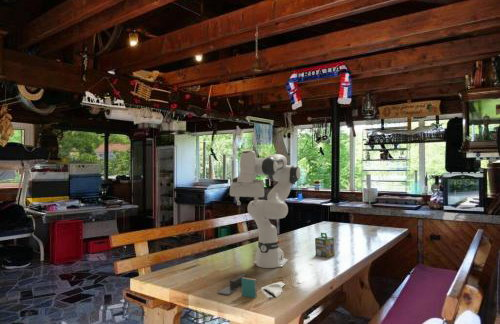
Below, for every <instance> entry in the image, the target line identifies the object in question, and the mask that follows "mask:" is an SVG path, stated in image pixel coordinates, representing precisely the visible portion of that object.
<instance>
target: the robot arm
mask: <svg viewBox="0 0 500 324" xmlns="http://www.w3.org/2000/svg"><path fill="white" fill-rule="evenodd" d="M287 164H288V159H287V157H286V156H285V155H283V154H279V153H273V154H270V155H268V156H266V157H258V158H257V155H256V152H255V150H245V151H242V152H241V154H240V159H239V169H240V171H239V176H236V177H233V178H231V180H230V182H231V183H230V186H229V196H230V197H235V200H236V205H237V206H241V205H242V202H241V201H240V197H243V198H247V197H248V198H253V200H251V201H250V202H249V203H248V205H247V213H248V215H249V216H250V217H251V218H252V219H253V220H254V222H255V224H256V227H257V231H258V241H257V247H258V249H257V250H256V255H255V256H256V257H255V261H254V264H255V265H256V266H257V267H259V268H263V269H274V268H284V266H285V265H286V264H287V262H288V261H289V259H288V258H285V253H284V250H282V249H281V248H280V246H279V245H280V244H281V240H279V239H278V230H277V226H275V225H274V224H272V223H271V221H270V219H272V220H279V219H284V218H286V216H287V215H288V213H289V207H288V204H287V203H286V200H287V199H288V197H289V195H290V192H291V188H292V187H291V185H295V184H296V182H298V181H299V180H300V178H301V169H300V167H299V166H298V165H295V164H294V165H293V164H292V165H290V164H289V165H287ZM256 176H267V177H268V179H269V180H270V181H272V182H277V183H276V184H275V185H274V186H273V187H272V189H270V191H269V192H268V194H267V196H266V198H267V199H259V198H264V197H265V182H264V181H263V180H262V179H256Z"/></svg>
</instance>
